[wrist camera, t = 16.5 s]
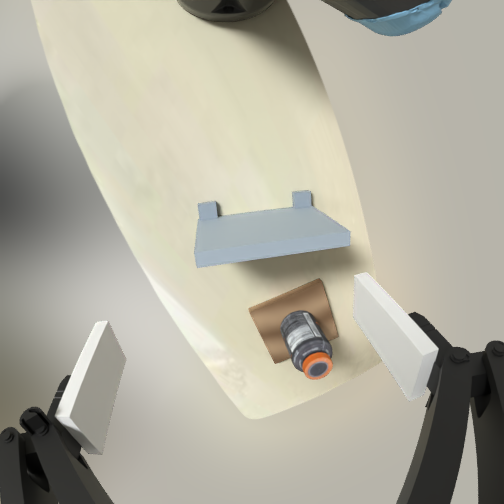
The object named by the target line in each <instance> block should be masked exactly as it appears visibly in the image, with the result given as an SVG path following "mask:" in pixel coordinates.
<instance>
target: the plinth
mask: <svg viewBox="0 0 504 504" xmlns="http://www.w3.org/2000/svg"><path fill="white" fill-rule="evenodd" d="M248 309H249V313H250V315H251V317H252V319H253V321H254V323H255V325H256V327H257V329H258V331H259V333H260V335H261V337H262V339H263V341H264V343H265V345H266V347H267V349H268V351H269V353H270V355H271V357H272V359H273V361H274V363H275V364H276V363H279V362H281V361H284V360H286V359H289V358H291V357H290V355H289V352H288V350H287V347H286V345H285V342H284V340H283V337H282V334H281V331H280V326H281V323H282V321H283V319H284V318H285V317H286V316H287V315H288V314H290V313H292V312H294V311H299V310H304V311H308V312H309V313H311V314H312V315H313V316H314V318H315V319H316V321H317V323H318V324H319V326H320V328H321V329H322V331H323V333H324V334H325V336H326V338H327V340H328V341H330V340H332V339H335V338H337V337H338V334H337V330H336V327H335V323H334V320H333V317H332V313H331V310H330V307H329V303H328V300H327V297H326V293H325V290H324V287H323V284H322V281H321V280H320V279H316V280H314V281H312V282H310V283H307V284H305V285H303V286H301V287H298V288H296V289H294V290H291V291H289V292H287V293H284V294H282V295H280V296H277V297H275V298H273V299H270V300H268V301H265V302H263V303H261V304H258V305H256V306H253V307H251V308H248Z"/></svg>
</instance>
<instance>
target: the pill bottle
mask: <svg viewBox="0 0 504 504" xmlns="http://www.w3.org/2000/svg"><path fill="white" fill-rule="evenodd" d="M280 331H281V334H282V337H283V340H284V342H285V345H286V347H287V350H288V352H289V355H290V357H291V360H292V362H293V365H294V366H295V368H296V369H298V370H299V371H301V372H304V373H305V375H306V377H307V378H309V379H312V380H316V379H321V378H323V377H325V376H326V375H327V374H329V372H330V371H331V369H332V367H333V363H332V361H331V357H332V347H331V345H330V343H329V341H328V340H327V338H326V336H325V334H324V333H323V331H322V329H321V328H320V326H319V324H318V323H317V321H316V319H315V318H314V316H313V315H312V314H311V313H309V312H308V311H304V310H299V311H294V312H292V313H290V314H288V315H287V316H286V317H285V318H284V319H283V321H282V323H281V326H280Z"/></svg>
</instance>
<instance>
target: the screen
mask: <svg viewBox="0 0 504 504" xmlns="http://www.w3.org/2000/svg"><path fill="white" fill-rule="evenodd" d="M292 197H293V207H290V208H281V209H273V210H264V211H256V212H249V213H241V214H233V215H226V216H217V208H216V201H212V202H205V203H198V210H199V217H200V219H198V224H197V233H196V242H195V251H194V254H195V260H196V265H197V268H199V267H207V266H214V265H221V264H228V263H235V262H242V261H249V260H256V259H263V258H270V257H277V256H283V255H290V254H297V253H304V252H311V251H318V250H324V249H331V248H338V247H344V246H350V231H349V230H348V229H346V228H345V227H343V226H342V225H340V224H339V223H337V222H336V221H335V220H333V219H332V218H330V217H329V216H327V215H326V214H324V213H323V212H321V211H320V210H318V209H317V208H315V207H313V206H312V205H311V191H309V190H305V191H295V192H292Z"/></svg>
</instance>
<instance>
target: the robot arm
mask: <svg viewBox="0 0 504 504" xmlns="http://www.w3.org/2000/svg"><path fill="white" fill-rule="evenodd" d="M322 1H323V2H325V3H327V4H329V5H330V6H332V7H334V8H336V9H337V10H339V11H341V12H343V13H344V14H345V16H346V17H347V18H349V19H351V20H353V21H356V22H359V23H361V24H362V25H364V26H365V27H367V28H369V29H371V30H372V31H374V32H375V33H378V34H381V35H387V36H400V35H404V34H408V33H411V32H413V31H415V30H417V29H420V28H422V27H424V26H425V25H427V24H429V23H430V22H432V21H433V20H434V19H436V18H437V17H438V16H439V15H440V14H441V13H442V11H441V9H443V8H445V7H448V5H449V4H450V3H451V1H452V0H322ZM177 2H178V3H179V4H180V5H181V6H182V7H183V8H184V9H185V10H186V11H188V12H189V13H191V14H193V15H195V16H197V17H200V18H203V19H206V20H211V21H218V22H232V21H240V20H244V19H248V18H251V17H253V16H256V15H258V14H260V13H261V12H263V11H264V10H266V9H267V8H268V7H269V6H270V5H271V4H272V3H273V2H274V0H177ZM353 318H354V320H355V321H356V323H357V324H358V325H359V327H360V328H361V330H362V331H363V333H364V334H365V336H366V337H367V339H368V340H369V341H370V343H371V344H372V346H373V347H374V349H375V350H376V352H377V353H378V355H379V356H380V358H381V359H382V361H383V362H384V364H385V365H386V367H387V368H388V370H389V371H390V373H391V374H392V376H393V377H394V379H395V380H396V382H397V384H398V385H399V387H400V388H401V390H402V391H403V393H404V394H405V396H406V397H407V399H408V401H411V400H414V399H416V398H418V397H421V396H423V395H424V393H425V390H426V387H428V388H429V390H430V391H431V394H430V396H429V399H428V401H427V404H426V406H425V407H427V410H426V414H425V418H424V422H423V426H422V429H421V433H420V437H419V440H418V444H417V447H416V450H415V454H414V457H413V460H412V463H411V466H410V469H409V472H408V474H407V477H406V480H405V483H404V486H403V488H402V491H401V493H400V495H399V498H398V500H397V503H396V504H450V502H451V499H452V495H453V492H454V488H455V484H456V480H457V476H458V472H459V468H460V463H461V458H462V453H463V448H464V442H465V436H466V430H467V422H468V415H469V406H471V412H472V418H473V425H474V433H475V443H476V453H477V467H478V496H479V497H478V501H479V502H478V504H504V343H503V342H501V341H491V342H489V343H488V344H487V346H486V348H485V351H482V352H476V353H469V351H467V350H466V349H464V348H460V347H452V346H451V344H450V343H449V342H448V341H447V340H446V339H445V338H444V337H443V336H442V335H441V334H440V333H439V332H438V331H437V330H435V327H434V326H433V325H432V324H430V322H429V321H428V320H427V319H426V318H425V317H424V316H422V315H420V314H418V313H416V312H413V313H410V314H407V313H406V312H405V311H404V310H403V309H402V308H401V307H400V306H399V305H398V304H397V303H396V302H395V301H394V299H393V298H392V297H390V295H388V293H387V292H386V291H385V290H384V289H383V288H382V287H381V286H380V285H379V284H378V283H377V282H376V281H375V280H374V279H373V278H372V277H371V276H370V275H369V274H368V273H367V272H366V273H361V274H357V275H354V307H353ZM125 362H126V357H125V355H124V353H123V351H122V349H121V347H120V345H119V343H118V341H117V339H116V337H115V334H114V332H113V330H112V328H111V326H110V323H109V321H100V322H96V324H95V326H94V328H93V330H92V332H91V334H90V336H89V338H88V340H87V342H86V344H85V346H84V349H83V351H82V353H81V355H80V357H79V359H78V361H77V364H76V366H75V368H74V370H73V373H72V375H67V376H66V377H65V378H64V379H63V380H62V382H61V383H60V385H59V387H58V390H57V392H56V394H55V398H54V399H53V401H52V404H51V406H50V409H49V411H48V414H47V416H46V415H45V414H44V412H43V411H42V410H41V409H40V408H38V407H31V408H28V409H27V410H26V411H24V413H23V414H22V415H21V417H20V425H21V426H22V427H23V428H24V429H25V431H26V433H22V434H20V433H19V432H18V431H17V430H16V429H15V428H13V427H8V428H6V429H4V430H3V431H2V433H1V434H0V498H1V504H58V502H59V504H114V503H113V502H112V500H111V499H110V498H109V496H108V495H107V493H106V492H105V490H104V489H103V487H102V486H101V484H100V483H99V481H98V480H97V478H96V477H95V475H94V474H93V472H92V470H91V469H90V467H89V465H88V464H87V462H86V460H85V459H84V457H83V456H82V455H81V454H80V451H81V447H82V448H83V449H84V450H85V451H86V452H87V453H88V454H100V455H102V454H103V449H104V444H105V440H106V436H107V431H108V426H109V423H110V418H111V414H112V410H113V406H114V402H115V398H116V395H117V391H118V387H119V383H120V379H121V376H122V372H123V369H124V365H125Z"/></svg>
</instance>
